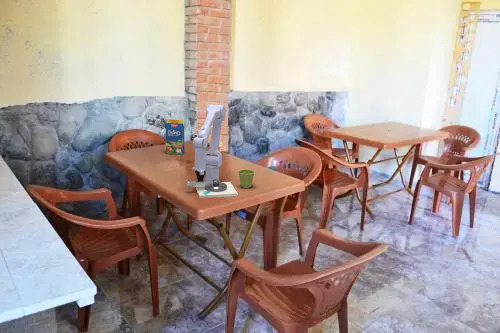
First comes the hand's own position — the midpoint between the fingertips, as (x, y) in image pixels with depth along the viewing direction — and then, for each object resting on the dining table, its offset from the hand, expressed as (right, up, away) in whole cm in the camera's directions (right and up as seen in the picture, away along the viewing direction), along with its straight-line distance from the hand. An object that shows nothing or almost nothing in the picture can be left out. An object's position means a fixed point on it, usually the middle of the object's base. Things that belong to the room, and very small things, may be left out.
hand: (200, 183), depth 220 cm
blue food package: (-28, +19, +77) cm, 84 cm away
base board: (+8, -4, 0) cm, 9 cm away
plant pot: (+25, -2, +9) cm, 26 cm away
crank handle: (+4, -2, -2) cm, 5 cm away
